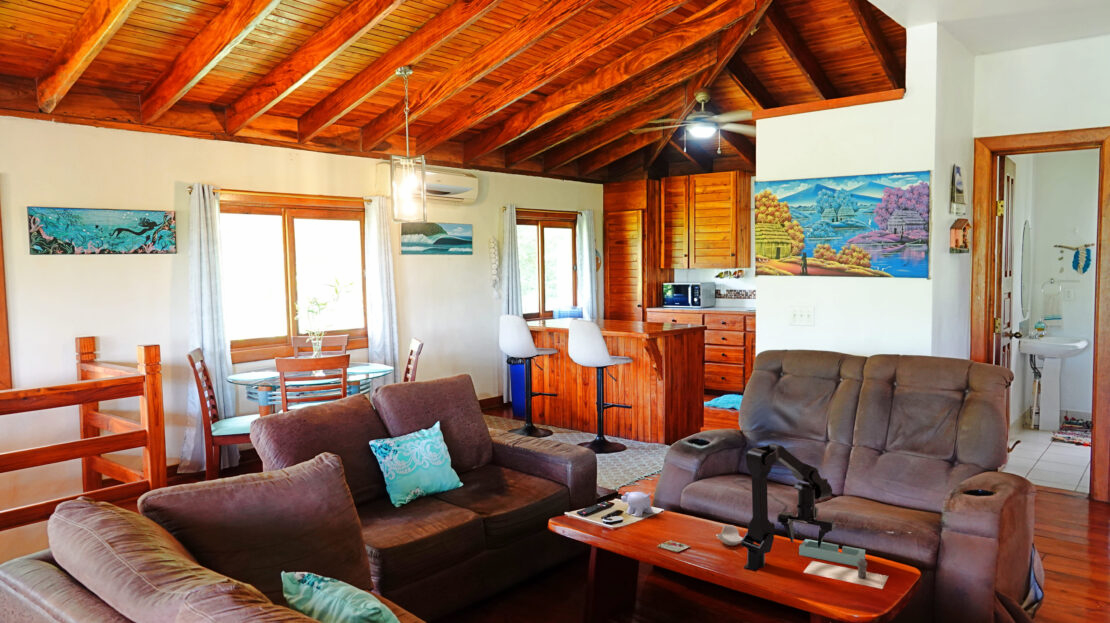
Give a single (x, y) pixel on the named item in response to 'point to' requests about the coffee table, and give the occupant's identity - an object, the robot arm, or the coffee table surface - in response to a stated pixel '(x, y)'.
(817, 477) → the robot arm
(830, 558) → the mint green notched block
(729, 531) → the pottery shard
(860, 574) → the post stand
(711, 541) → the coffee table surface
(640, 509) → the grey bear figurine
